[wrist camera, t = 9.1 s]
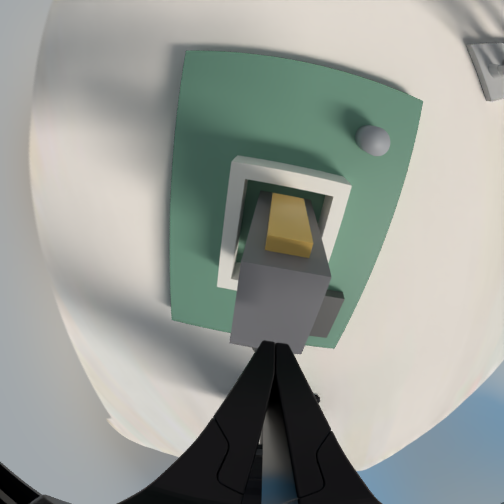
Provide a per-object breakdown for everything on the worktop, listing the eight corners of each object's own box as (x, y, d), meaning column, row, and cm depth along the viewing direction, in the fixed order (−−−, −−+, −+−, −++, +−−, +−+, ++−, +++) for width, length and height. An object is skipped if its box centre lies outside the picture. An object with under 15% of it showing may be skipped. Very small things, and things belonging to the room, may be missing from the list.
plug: (290, 277, 18) (291, 375, 11) (247, 269, 18) (226, 365, 11) (312, 190, 15) (337, 261, 8) (262, 180, 15) (243, 244, 8)
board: (332, 338, 23) (336, 366, 20) (176, 310, 23) (164, 336, 20) (414, 101, 13) (439, 101, 10) (192, 54, 13) (173, 43, 10)
